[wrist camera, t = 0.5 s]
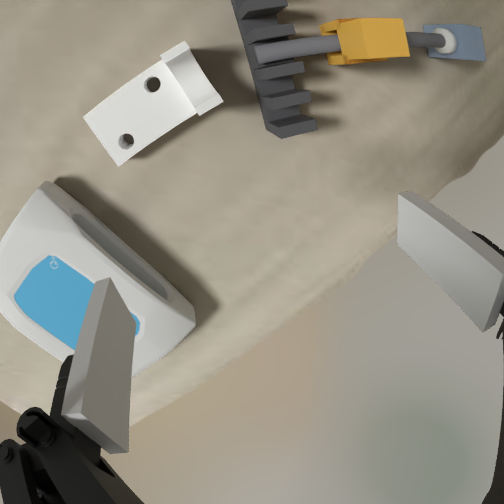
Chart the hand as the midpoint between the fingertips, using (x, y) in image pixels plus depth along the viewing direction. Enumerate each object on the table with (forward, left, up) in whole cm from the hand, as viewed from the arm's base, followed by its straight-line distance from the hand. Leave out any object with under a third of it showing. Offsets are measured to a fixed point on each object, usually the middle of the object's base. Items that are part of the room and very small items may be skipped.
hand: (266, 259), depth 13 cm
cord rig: (-9, +21, -26) cm, 35 cm away
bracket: (-7, -5, -27) cm, 28 cm away
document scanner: (+13, -25, -27) cm, 39 cm away
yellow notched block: (-9, +17, -24) cm, 31 cm away
